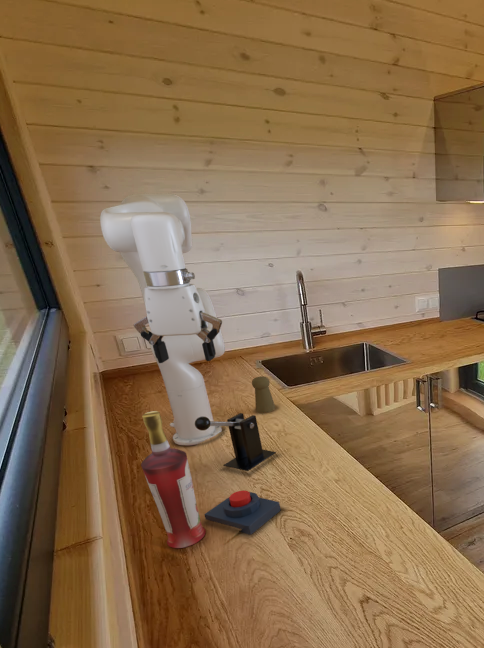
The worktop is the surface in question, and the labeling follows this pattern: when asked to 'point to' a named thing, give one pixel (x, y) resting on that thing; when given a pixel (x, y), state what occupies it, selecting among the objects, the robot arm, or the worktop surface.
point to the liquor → (171, 486)
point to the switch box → (244, 513)
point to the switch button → (240, 498)
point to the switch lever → (214, 423)
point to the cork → (263, 395)
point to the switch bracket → (246, 444)
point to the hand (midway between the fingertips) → (187, 360)
